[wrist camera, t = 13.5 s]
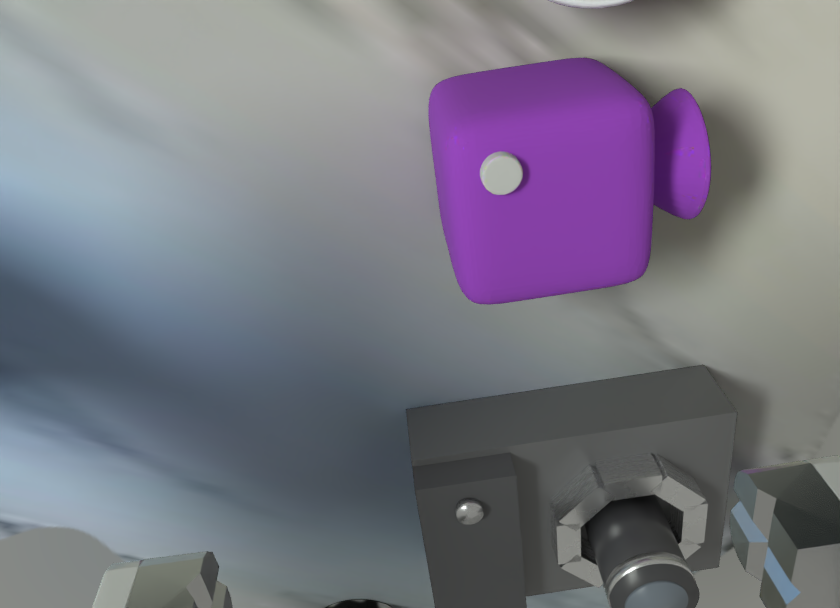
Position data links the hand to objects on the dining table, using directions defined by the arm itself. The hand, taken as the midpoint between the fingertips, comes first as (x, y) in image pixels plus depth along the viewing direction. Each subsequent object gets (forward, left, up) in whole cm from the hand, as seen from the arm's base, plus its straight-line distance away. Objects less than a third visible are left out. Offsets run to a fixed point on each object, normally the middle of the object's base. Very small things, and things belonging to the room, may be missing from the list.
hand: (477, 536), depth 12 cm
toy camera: (+8, -5, -31) cm, 33 cm away
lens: (+11, -29, -26) cm, 40 cm away
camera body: (+8, -29, -31) cm, 43 cm away
